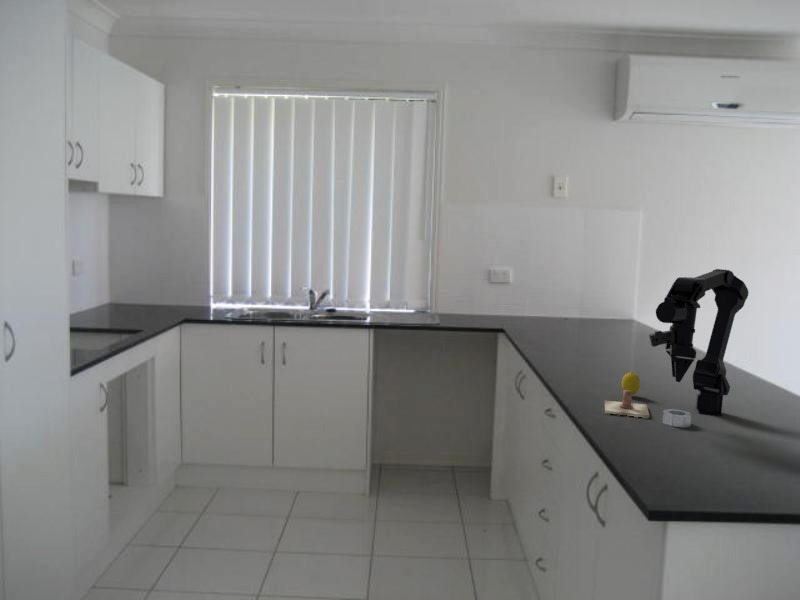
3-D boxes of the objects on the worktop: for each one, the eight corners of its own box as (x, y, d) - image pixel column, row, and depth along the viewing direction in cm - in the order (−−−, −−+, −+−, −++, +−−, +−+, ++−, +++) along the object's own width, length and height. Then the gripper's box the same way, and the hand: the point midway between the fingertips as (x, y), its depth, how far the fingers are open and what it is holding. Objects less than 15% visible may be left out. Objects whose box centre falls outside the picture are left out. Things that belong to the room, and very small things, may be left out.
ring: (688, 421, 203) (689, 411, 202) (691, 428, 196) (692, 417, 196) (661, 418, 205) (662, 408, 204) (664, 425, 198) (665, 414, 197)
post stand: (646, 407, 216) (647, 388, 215) (649, 418, 204) (651, 398, 203) (604, 403, 218) (606, 384, 218) (605, 413, 207) (606, 393, 206)
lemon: (627, 398, 226) (629, 373, 225) (617, 394, 231) (619, 369, 230) (642, 398, 227) (644, 373, 226) (632, 393, 232) (634, 369, 231)
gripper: (650, 317, 209) (643, 370, 210) (655, 322, 191) (647, 380, 193) (691, 322, 206) (684, 376, 208) (700, 327, 189) (692, 386, 190)
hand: (676, 379), depth 199 cm, fingers open, 9 cm apart
